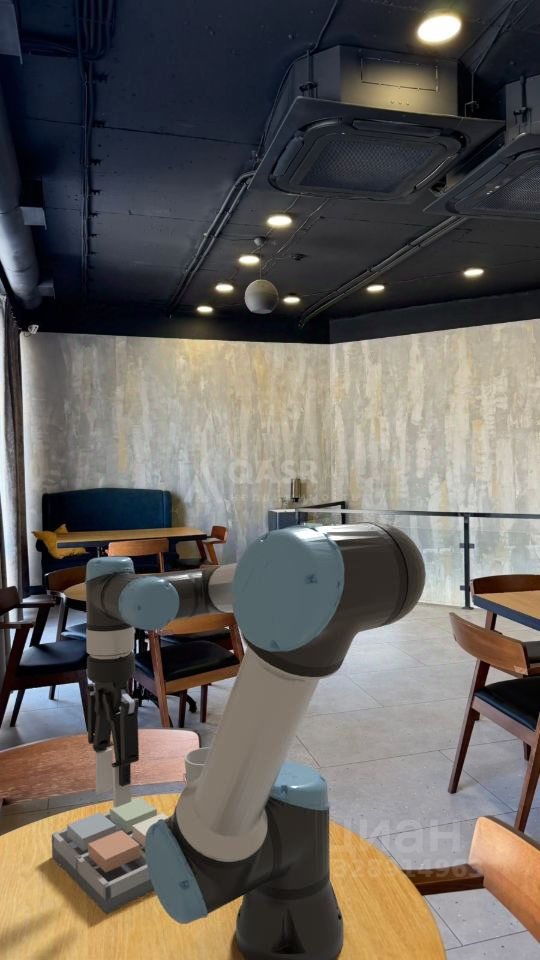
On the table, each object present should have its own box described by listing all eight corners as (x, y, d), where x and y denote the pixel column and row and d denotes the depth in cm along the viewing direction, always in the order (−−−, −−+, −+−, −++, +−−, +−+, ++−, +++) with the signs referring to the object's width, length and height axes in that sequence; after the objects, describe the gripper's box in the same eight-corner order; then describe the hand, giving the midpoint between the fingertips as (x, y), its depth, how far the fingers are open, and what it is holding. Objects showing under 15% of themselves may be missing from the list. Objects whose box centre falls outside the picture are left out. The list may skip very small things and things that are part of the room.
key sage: (156, 820, 113) (156, 809, 113) (126, 832, 109) (126, 821, 109) (139, 807, 117) (139, 797, 117) (110, 819, 113) (110, 808, 113)
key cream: (181, 838, 107) (181, 826, 107) (150, 852, 103) (150, 839, 103) (162, 824, 111) (162, 813, 111) (132, 837, 107) (132, 825, 107)
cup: (220, 831, 116) (219, 766, 117) (179, 827, 118) (178, 763, 118) (231, 810, 124) (230, 748, 124) (193, 806, 126) (192, 746, 126)
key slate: (116, 837, 108) (115, 825, 108) (82, 851, 104) (82, 838, 104) (99, 823, 112) (99, 812, 112) (67, 836, 108) (67, 824, 108)
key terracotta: (139, 857, 102) (139, 844, 102) (105, 872, 98) (105, 859, 98) (121, 841, 106) (121, 829, 106) (88, 856, 102) (88, 843, 102)
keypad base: (199, 867, 106) (199, 843, 106) (106, 914, 94) (105, 887, 94) (139, 821, 121) (138, 800, 121) (52, 857, 109) (51, 833, 109)
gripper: (161, 659, 98) (163, 809, 98) (105, 639, 112) (107, 771, 111) (117, 669, 93) (119, 827, 93) (65, 647, 107) (66, 785, 106)
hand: (113, 796), depth 102 cm, fingers open, 5 cm apart
